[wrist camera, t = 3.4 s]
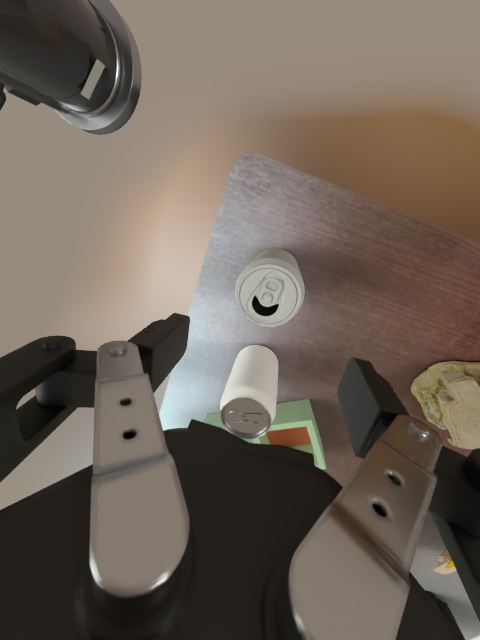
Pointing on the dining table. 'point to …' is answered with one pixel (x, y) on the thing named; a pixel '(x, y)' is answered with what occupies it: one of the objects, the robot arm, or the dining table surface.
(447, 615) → the portable speaker
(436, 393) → the ceramic model
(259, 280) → the beverage can
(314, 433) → the cup holder
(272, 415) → the can
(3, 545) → the robot arm
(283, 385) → the dining table surface
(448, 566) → the decorative flower
